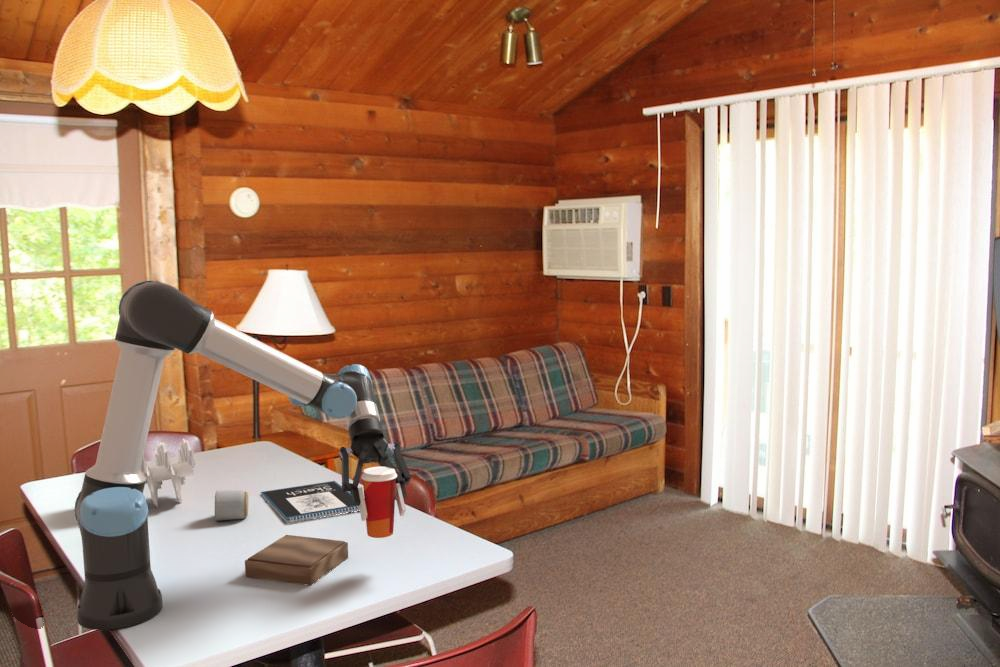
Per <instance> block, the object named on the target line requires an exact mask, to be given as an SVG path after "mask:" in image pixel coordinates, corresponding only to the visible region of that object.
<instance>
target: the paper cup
mask: <svg viewBox="0 0 1000 667" xmlns="http://www.w3.org/2000/svg"><path fill="white" fill-rule="evenodd" d="M396 477H397V474H396V472H395V469H392V468H389V467H382V466H372V467H368V468H365V469H363V470H362V474H361V476H360V479H362V483H363V484H362V485H363V487H362V489H363V495H364V500H365V505H366V510H367V517H366V520H365V524H366V533H367V536H368V537H369V538H374V539H375V538H376V539H383V538H388V537H390V536H392V535H393V534H394V525H395V508H396V507H395V506H396V504H395V503H396V496H395V486H396Z"/></svg>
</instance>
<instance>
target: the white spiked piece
mask: <svg viewBox="0 0 1000 667" xmlns="http://www.w3.org/2000/svg"><path fill="white" fill-rule="evenodd" d="M179 444H180V445H179V449H178V461H177V462H176V463H172V462H171V456H170V452H169V450H167V449H166V444H165V441H164V442H159V443H158V445H157V447H156V453H157V454H156V453H155V465H156V466H154V467H149V466H148V464H147V461H146V457H143V459H142V464H141V468H140V470H141V472H142V474H143V475H144V476H145V478H146V482H145V485H147V486H148V489H149V491H150V496H151V501H152V502H153V506H155V507H157V508H159V499H158V497H159V495H158V490H159V489H162V485H163V481H168V480H171V483H172V486H173V488H174V493H175V498H176V499H177V502H178V503H179V504H180V503H181V504H182V493H181V492H182V485H186V484H185V483H186V482H185V481H186V477H190V476H191V477H192V476H194V474H195V473H194V468H195V466H196V458H195V454H194V449H191V447H190V442H189V440H188V439H185V438H182V442H180V443H179Z"/></svg>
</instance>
